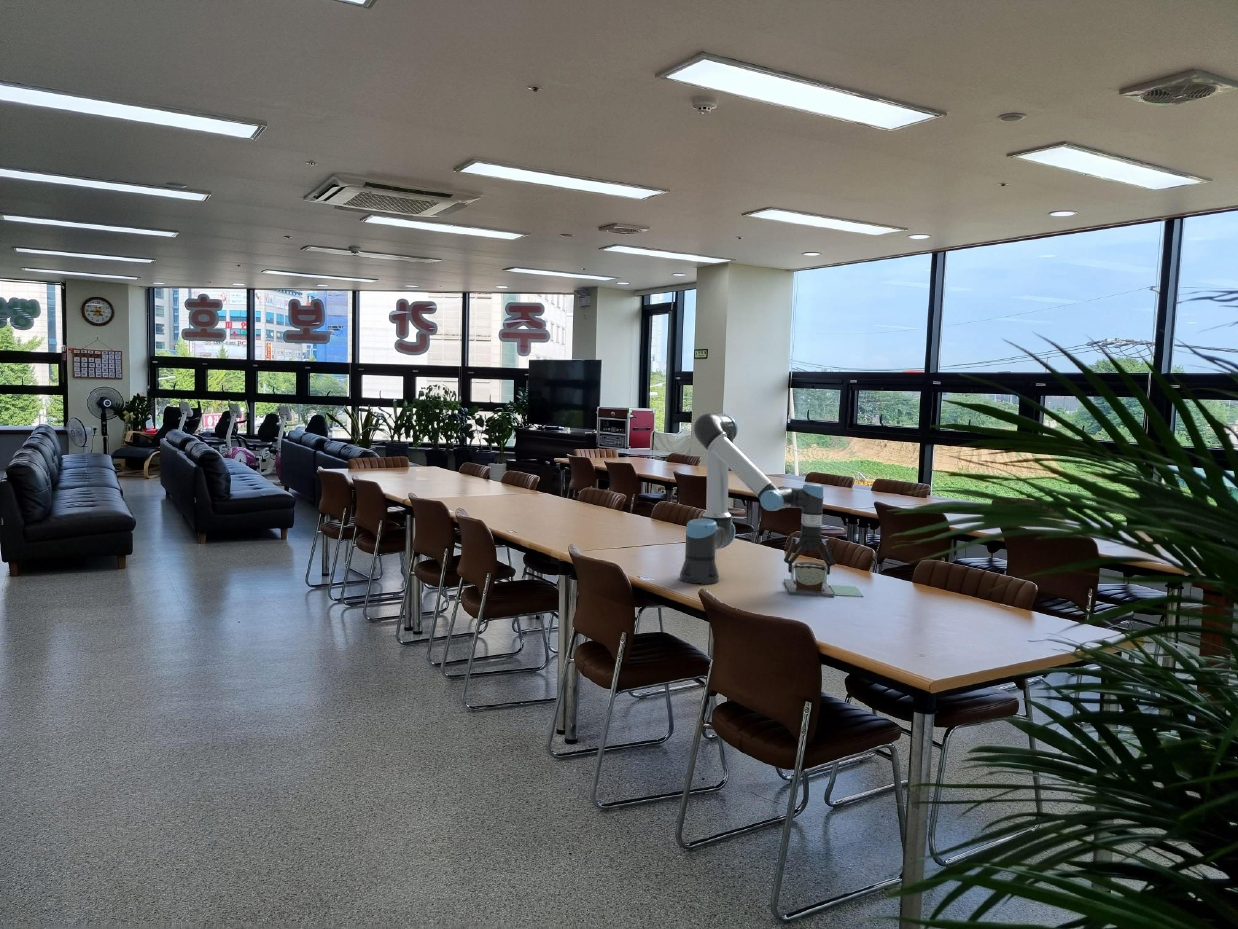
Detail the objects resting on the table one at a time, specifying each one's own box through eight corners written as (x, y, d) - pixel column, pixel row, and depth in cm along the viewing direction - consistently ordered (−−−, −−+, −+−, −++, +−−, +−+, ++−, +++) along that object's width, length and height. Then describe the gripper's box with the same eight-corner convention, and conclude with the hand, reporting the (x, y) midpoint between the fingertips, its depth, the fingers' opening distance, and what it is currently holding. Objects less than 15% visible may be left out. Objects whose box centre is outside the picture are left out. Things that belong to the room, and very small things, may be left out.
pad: (835, 595, 311) (835, 594, 311) (829, 585, 327) (829, 584, 327) (863, 597, 310) (863, 596, 310) (855, 587, 326) (855, 586, 326)
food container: (825, 589, 322) (827, 563, 321) (825, 592, 316) (827, 566, 315) (792, 586, 325) (793, 560, 324) (792, 589, 319) (793, 563, 318)
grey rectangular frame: (789, 594, 310) (789, 591, 310) (783, 581, 332) (783, 578, 332) (834, 597, 309) (834, 594, 308) (825, 584, 330) (825, 581, 330)
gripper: (780, 525, 315) (777, 582, 317) (845, 528, 313) (842, 586, 315) (778, 522, 323) (775, 578, 325) (842, 525, 321) (838, 581, 323)
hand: (808, 582), depth 320 cm, fingers closed on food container, 11 cm apart
